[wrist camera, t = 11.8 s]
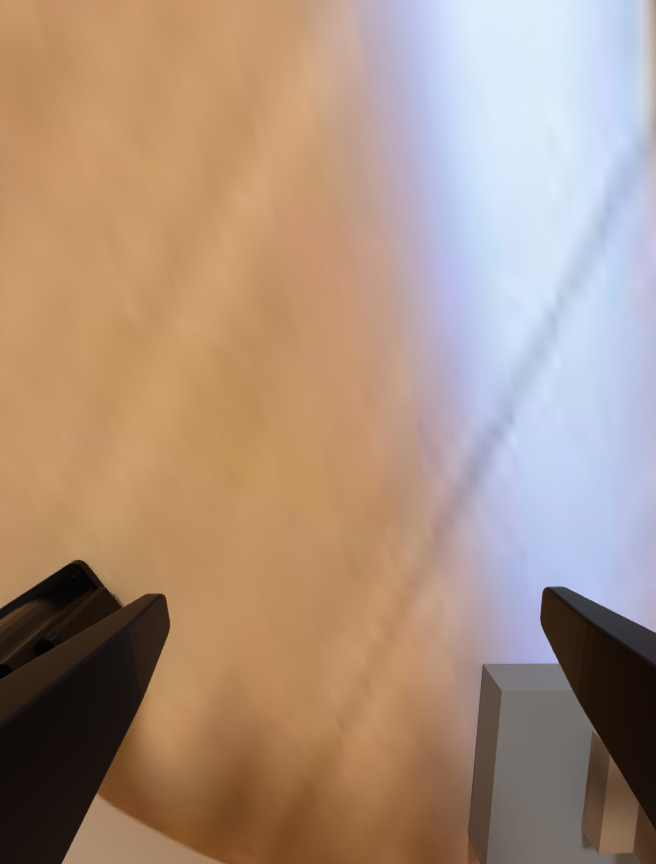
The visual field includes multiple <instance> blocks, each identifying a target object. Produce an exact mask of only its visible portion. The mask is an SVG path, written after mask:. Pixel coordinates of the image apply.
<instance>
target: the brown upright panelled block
mask: <svg viewBox="0 0 656 864" xmlns="http://www.w3.org/2000/svg"><path fill="white" fill-rule="evenodd" d="M581 829H582V830H583V832H584V833H585V835H586V836H587V838H588V839H589V841H590V842H591V844H592V845H593V847H594V848H595V850H596V851H597V853H598V854H616V853H634V855H635V856H636V857H637V859H638V860H639V861H640V863H641V864H656V831H655V829H654V827H653V826H652V824H651V822H650V821H649V819H648V817H647V816H646V814H645V812H644V811H643V809H642V807H641V805H640V804H639V802H638V800H637V799H636V797H635V795H634V794H633V792H632V790H631V789H630V787H629V785H628V784H627V782H626V780H625V779H624V777H623V775H622V774H621V772H620V770H619V769H618V767H617V765H616V764H615V762H614V760H613V759H612V757H611V755H610V754H609V752H608V750H607V749H606V747H605V745H604V744H603V742H602V740H601V739H600V737H599V735H598V734H597V732H596V730H592V738H591V747H590V756H589V765H588V774H587V783H586V792H585V801H584V810H583V819H582V828H581Z"/></svg>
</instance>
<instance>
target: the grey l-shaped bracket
mask: <svg viewBox="0 0 656 864" xmlns="http://www.w3.org/2000/svg"><path fill="white" fill-rule="evenodd" d="M592 730H595V729H594V727H593V725H592V724H591V722H590V720H589V719H588V717H587V715H586V714H585V712H584V710H583V709H582V707H581V705H580V703H579V702H578V700H577V698H576V696H575V694H574V692H573V690H572V688H571V686H570V684H569V682H568V680H567V678H566V676H565V674H564V672H563V670H562V668H561V666H560V664H490V665H483V673H482V685H481V696H480V708H479V720H478V731H477V743H476V755H475V766H474V778H473V789H472V801H471V813H470V824H469V835H470V837H471V840H472V842H473V845H474V847H475V850H476V852H477V855H478V858H479V860H480V863H481V864H641V863H640V861H639V860H638V859H637V857H636V856H635V855H634V853H616V854H598V853H597V851H596V850H595V848H594V847H593V845H592V844H591V842H590V841H589V839H588V838H587V836H586V835H585V833H584V832H583V830H582V829H581V828H582V819H583V810H584V801H585V792H586V783H587V774H588V765H589V756H590V747H591V738H592Z"/></svg>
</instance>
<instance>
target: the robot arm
mask: <svg viewBox="0 0 656 864" xmlns="http://www.w3.org/2000/svg"><path fill="white" fill-rule="evenodd" d="M73 568H76V569H77V570H78V572H79V574H77V573H75V572H74V571H73ZM540 620H541V625H542V628H543V631H544V633H545V635H546V637H547V639H548V641H549V643H550V645H551V647H552V649H553V651H554V653H555V655H556V657H557V659H558V662H559V664H560V666H561V668H562V670H563V672H564V674H565V676H566V678H567V680H568V682H569V684H570V686H571V688H572V690H573V692H574V694H575V696H576V698H577V700H578V702H579V703H580V705H581V707H582V709H583V710H584V712H585V714H586V715H587V717H588V719H589V720H590V722H591V724H592V725H593V727H594V729H595V730H596V732H597V734H598V735H599V737H600V739H601V740H602V742H603V744H604V745H605V747H606V749H607V750H608V752H609V754H610V755H611V757H612V759H613V760H614V762H615V764H616V765H617V767H618V769H619V770H620V772H621V774H622V775H623V777H624V779H625V780H626V782H627V784H628V785H629V787H630V789H631V790H632V792H633V794H634V795H635V797H636V799H637V800H638V802H639V804H640V805H641V807H642V809H643V811H644V812H645V814H646V816H647V817H648V819H649V821H650V822H651V824H652V826H653V827H654V829H655V831H656V633H655V632H653V631H651V630H649V629H647V628H645V627H643V626H641V625H639V624H637V623H635V622H633V621H631V620H629V619H627V618H625V617H623V616H621V615H619V614H617V613H615V612H613V611H611V610H609V609H607V608H605V607H603V606H601V605H599V604H597V603H595V602H593V601H591V600H589V599H587V598H585V597H583V596H581V595H579V594H577V593H575V592H573V591H571V590H570V589H568V588H565V587H546V588H545V589H544V590H543V593H542V604H541V615H540ZM169 629H170V620H169V613H168V607H167V601H166V597H165V595H163V594H146V595H144V596H142V597H140V598H139V599H137V600H135V601H133V602H132V603H130V604H128V605H127V606H125V607H123V608H121V607H120V605H119V604H118V603H117V601H116V600H115V599H114V598H113V596H112V595H111V594H110V592H109V591H108V590H107V589H106V588H105V587H104V586H103V585H102V583H101V582H100V581H99V580H98V578H97V577H96V576H95V574H94V573H93V572H92V571H91V569H90V568H89V567H88V565H87V564H86V563H85V562H84V561H81V560H75V561H72V562H71V563H69V564H68V565H66V566H65V567H63V568H62V569H60V570H59V571H57V572H56V573H54V574H53V575H51V576H50V577H48V578H47V579H45V580H43V581H42V582H40V583H39V584H37V585H36V586H34V587H33V588H31V589H30V590H28V591H27V592H25V593H24V594H22V595H21V596H19V597H18V598H16V599H15V600H13V601H11V602H10V603H8V604H7V605H5V606H4V607H2V608H1V609H0V864H61V863H62V862H63V859H64V858H65V856H66V853H67V851H68V850H69V847H70V845H71V843H72V841H73V839H74V837H75V835H76V833H77V831H78V829H79V827H80V825H81V823H82V821H83V819H84V817H85V815H86V813H87V811H88V809H89V807H90V805H91V803H92V801H93V799H94V797H95V795H96V793H97V791H98V789H99V787H100V785H101V783H102V781H103V779H104V777H105V775H106V773H107V771H108V769H109V767H110V765H111V763H112V761H113V759H114V757H115V755H116V753H117V751H118V749H119V747H120V745H121V743H122V741H123V739H124V737H125V735H126V733H127V731H128V729H129V727H130V725H131V723H132V721H133V719H134V716H135V714H136V712H137V710H138V708H139V706H140V704H141V702H142V700H143V697H144V695H145V692H146V690H147V688H148V685H149V682H150V680H151V677H152V675H153V672H154V670H155V667H156V664H157V662H158V659H159V657H160V654H161V652H162V649H163V646H164V644H165V641H166V639H167V636H168V633H169Z"/></svg>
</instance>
